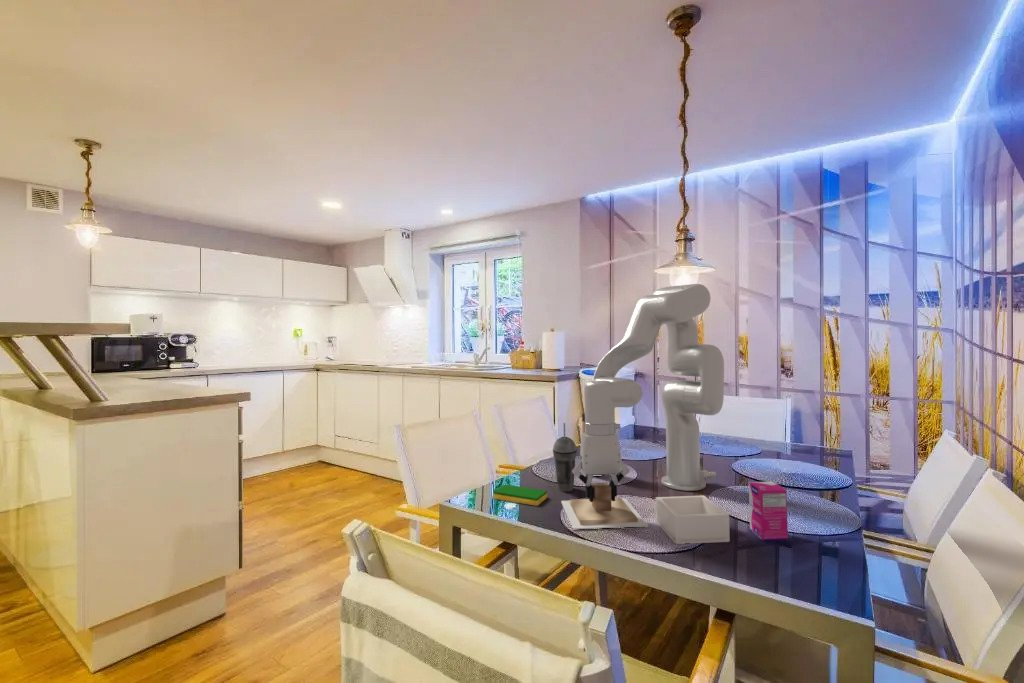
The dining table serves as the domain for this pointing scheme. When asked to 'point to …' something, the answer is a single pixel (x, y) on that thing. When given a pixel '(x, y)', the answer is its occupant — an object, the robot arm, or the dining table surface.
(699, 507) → the white open box
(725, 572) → the dining table surface
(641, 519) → the mat
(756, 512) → the supplement box
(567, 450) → the beverage cup
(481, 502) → the dining table surface
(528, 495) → the dish sponge
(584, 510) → the lid
